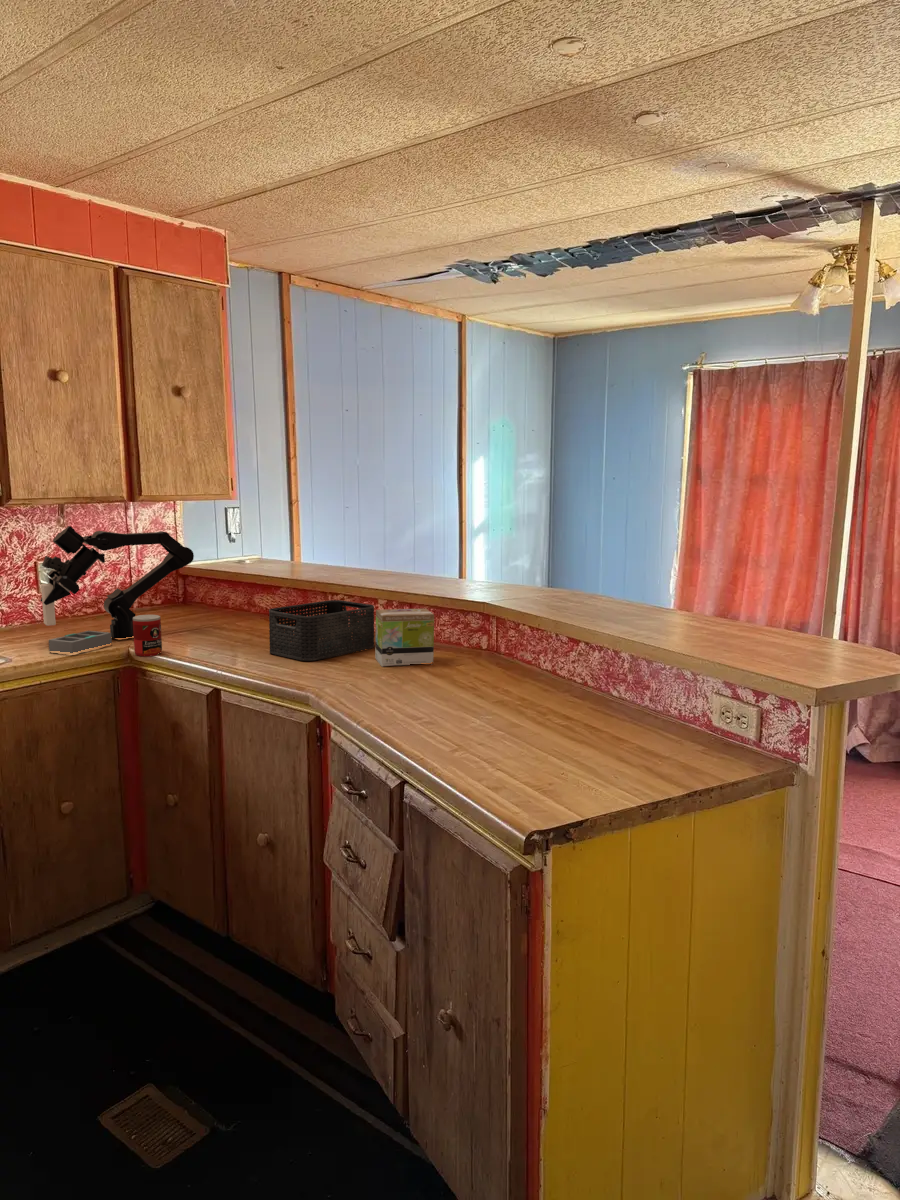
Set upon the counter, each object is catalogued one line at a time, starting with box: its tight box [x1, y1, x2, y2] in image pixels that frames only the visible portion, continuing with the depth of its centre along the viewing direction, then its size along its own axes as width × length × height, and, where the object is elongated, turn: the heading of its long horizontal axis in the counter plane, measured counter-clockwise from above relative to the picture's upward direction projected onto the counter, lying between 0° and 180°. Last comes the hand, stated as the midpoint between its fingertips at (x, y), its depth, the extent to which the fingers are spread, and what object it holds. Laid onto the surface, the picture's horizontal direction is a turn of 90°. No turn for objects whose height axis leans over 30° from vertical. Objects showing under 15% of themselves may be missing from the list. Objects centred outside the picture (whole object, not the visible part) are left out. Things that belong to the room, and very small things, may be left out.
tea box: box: [374, 608, 435, 667], centre depth 235 cm, size 15×10×15 cm, turn 105°
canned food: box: [133, 614, 163, 657], centre depth 243 cm, size 8×8×11 cm
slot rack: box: [48, 630, 113, 653], centre depth 249 cm, size 15×9×4 cm, turn 159°
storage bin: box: [268, 599, 375, 662], centre depth 249 cm, size 29×19×13 cm
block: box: [40, 583, 57, 627], centre depth 251 cm, size 2×5×12 cm, turn 35°
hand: (43, 602), depth 250 cm, fingers closed on block, 5 cm apart
